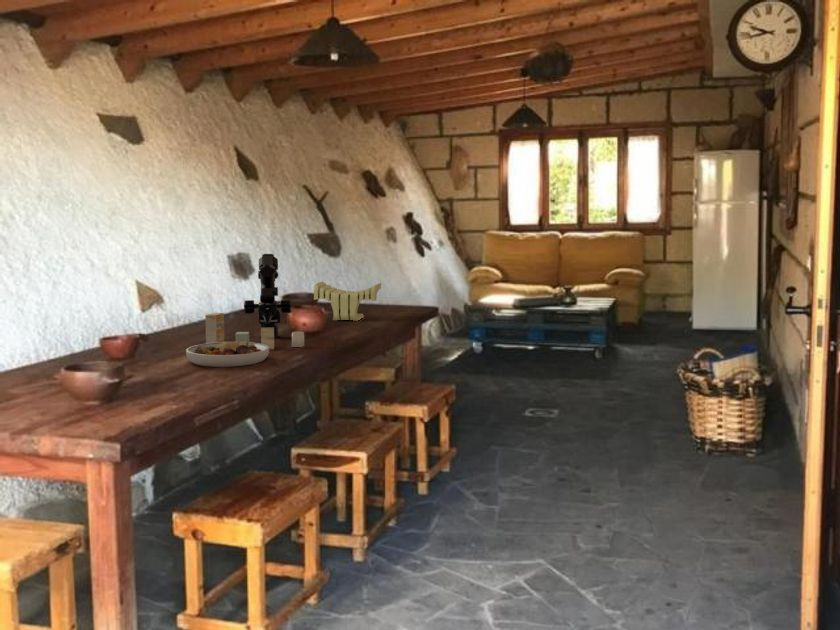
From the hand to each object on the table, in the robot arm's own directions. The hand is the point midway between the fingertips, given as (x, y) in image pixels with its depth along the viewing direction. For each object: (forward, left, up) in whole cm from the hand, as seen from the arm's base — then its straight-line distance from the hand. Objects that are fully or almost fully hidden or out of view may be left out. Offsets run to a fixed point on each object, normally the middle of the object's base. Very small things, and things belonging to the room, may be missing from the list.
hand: (267, 323), depth 364 cm
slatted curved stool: (+11, +86, -10) cm, 87 cm away
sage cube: (-12, +4, -10) cm, 16 cm away
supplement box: (-22, 0, -10) cm, 25 cm away
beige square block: (+12, +3, -10) cm, 16 cm away
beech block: (+1, -2, -10) cm, 10 cm away
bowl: (-4, -31, -10) cm, 33 cm away
